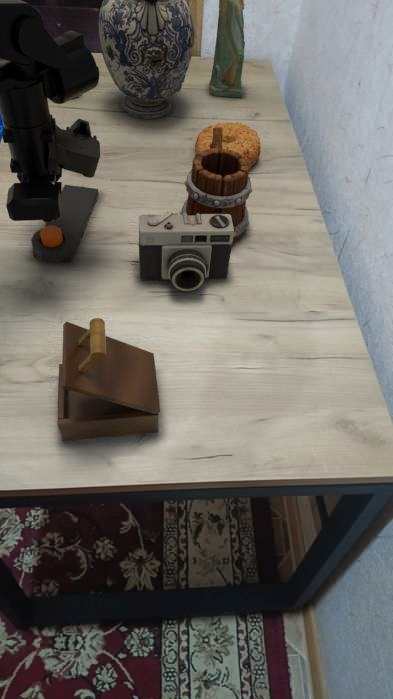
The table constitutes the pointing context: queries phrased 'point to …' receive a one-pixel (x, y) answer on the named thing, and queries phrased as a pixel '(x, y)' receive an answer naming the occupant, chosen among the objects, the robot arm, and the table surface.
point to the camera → (185, 248)
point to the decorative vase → (147, 51)
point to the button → (51, 236)
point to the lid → (108, 368)
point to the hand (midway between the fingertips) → (47, 220)
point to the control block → (68, 224)
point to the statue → (228, 50)
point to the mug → (219, 184)
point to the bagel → (232, 140)
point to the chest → (99, 417)
